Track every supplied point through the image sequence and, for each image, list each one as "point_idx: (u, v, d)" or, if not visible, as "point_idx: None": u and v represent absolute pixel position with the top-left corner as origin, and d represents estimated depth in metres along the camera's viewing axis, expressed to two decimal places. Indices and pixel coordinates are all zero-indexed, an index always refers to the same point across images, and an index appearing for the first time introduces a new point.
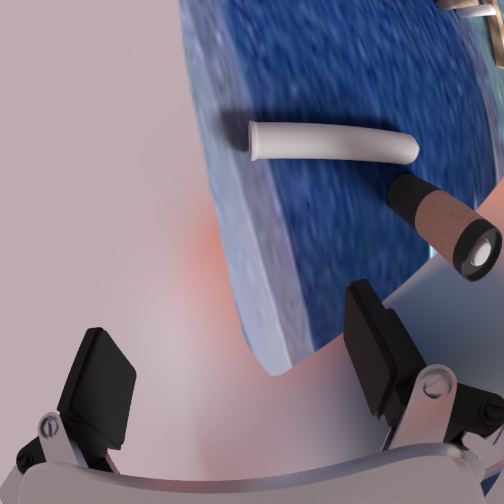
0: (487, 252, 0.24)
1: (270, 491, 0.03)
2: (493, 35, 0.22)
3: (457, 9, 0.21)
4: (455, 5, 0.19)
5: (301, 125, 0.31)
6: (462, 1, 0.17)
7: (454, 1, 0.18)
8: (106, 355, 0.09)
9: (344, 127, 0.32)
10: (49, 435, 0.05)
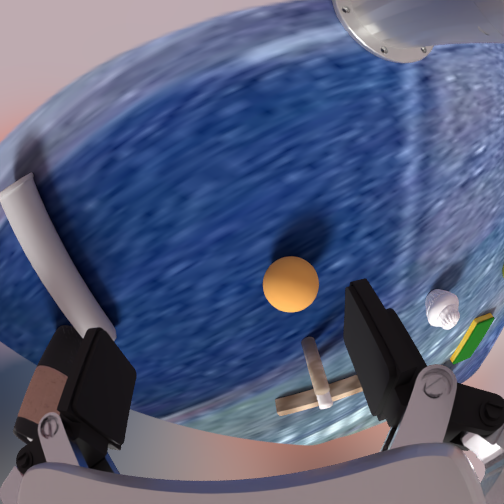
0: None
1: (270, 491, 0.03)
2: (311, 392, 0.47)
3: None
4: (308, 364, 0.35)
5: (40, 231, 0.23)
6: (314, 375, 0.33)
7: (313, 364, 0.35)
8: (106, 355, 0.09)
9: (65, 273, 0.26)
10: (49, 435, 0.05)
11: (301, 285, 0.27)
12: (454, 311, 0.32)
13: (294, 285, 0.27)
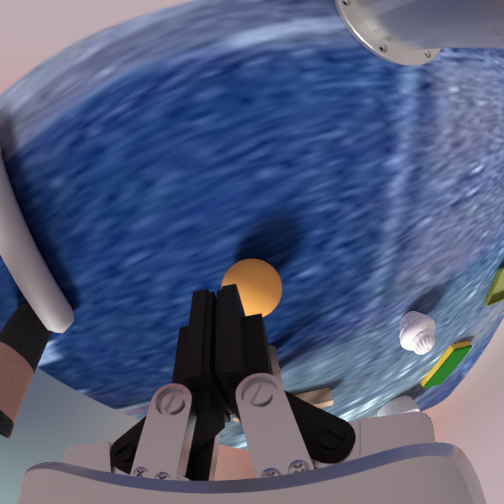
0: None
1: (270, 491, 0.03)
2: None
3: None
4: None
5: (1, 204, 0.20)
6: None
7: None
8: None
9: (22, 249, 0.23)
10: (171, 412, 0.06)
11: (260, 291, 0.25)
12: (429, 336, 0.32)
13: (253, 290, 0.25)
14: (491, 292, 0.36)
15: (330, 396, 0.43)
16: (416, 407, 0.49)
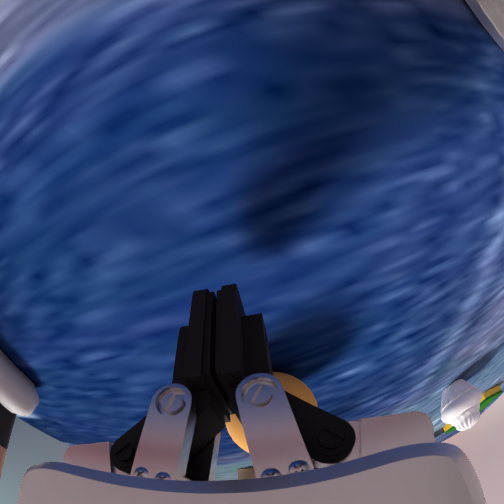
0: None
1: (270, 491, 0.03)
2: None
3: None
4: None
5: None
6: None
7: None
8: None
9: None
10: (171, 412, 0.06)
11: None
12: (476, 413, 0.19)
13: None
14: None
15: None
16: None
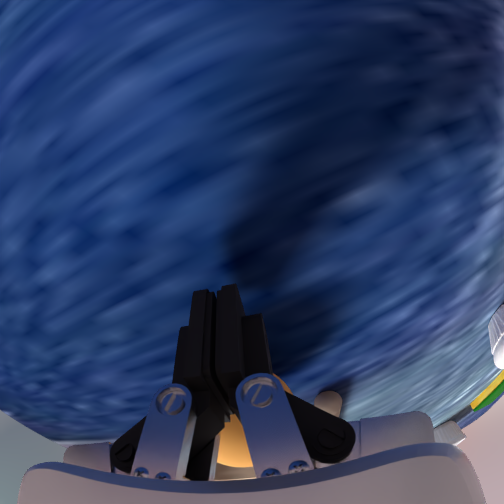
0: None
1: (270, 491, 0.03)
2: None
3: None
4: None
5: None
6: None
7: None
8: None
9: None
10: (171, 412, 0.06)
11: None
12: None
13: None
14: None
15: None
16: (464, 436, 0.28)
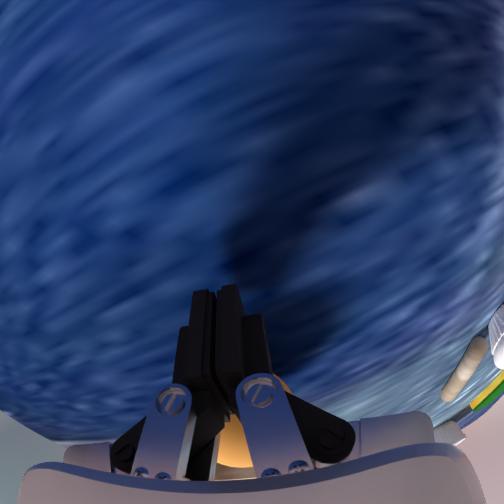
0: None
1: (270, 491, 0.03)
2: None
3: None
4: (467, 379, 0.18)
5: None
6: (461, 388, 0.20)
7: None
8: None
9: None
10: (171, 412, 0.06)
11: None
12: None
13: None
14: None
15: None
16: (464, 436, 0.28)
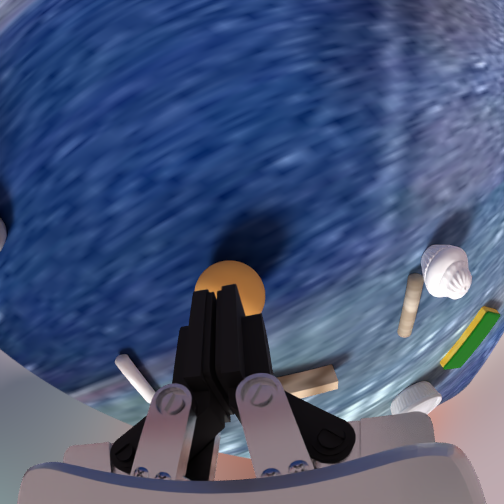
0: None
1: (270, 491, 0.03)
2: None
3: (129, 362, 0.30)
4: (415, 311, 0.29)
5: None
6: (413, 322, 0.30)
7: (416, 310, 0.30)
8: None
9: None
10: (171, 412, 0.06)
11: None
12: (465, 270, 0.22)
13: None
14: None
15: (334, 376, 0.33)
16: (438, 394, 0.38)
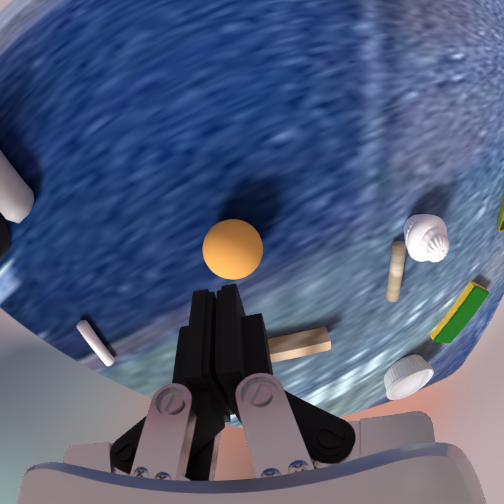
0: None
1: (270, 491, 0.03)
2: None
3: None
4: (400, 276, 0.33)
5: None
6: (400, 287, 0.35)
7: (402, 275, 0.34)
8: None
9: None
10: (171, 411, 0.06)
11: None
12: (442, 235, 0.26)
13: None
14: (502, 213, 0.30)
15: (327, 336, 0.38)
16: (430, 367, 0.43)
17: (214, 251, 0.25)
